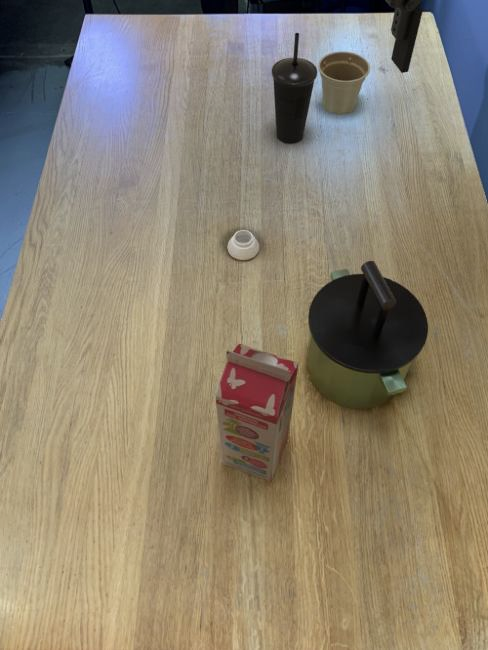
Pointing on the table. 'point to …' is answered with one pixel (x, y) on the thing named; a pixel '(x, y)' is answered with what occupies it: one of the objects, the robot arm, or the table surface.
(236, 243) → the white jar
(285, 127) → the drinking cup
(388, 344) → the lid
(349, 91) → the flower pot
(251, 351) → the juice carton
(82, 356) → the table surface
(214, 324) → the table surface
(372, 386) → the pot
